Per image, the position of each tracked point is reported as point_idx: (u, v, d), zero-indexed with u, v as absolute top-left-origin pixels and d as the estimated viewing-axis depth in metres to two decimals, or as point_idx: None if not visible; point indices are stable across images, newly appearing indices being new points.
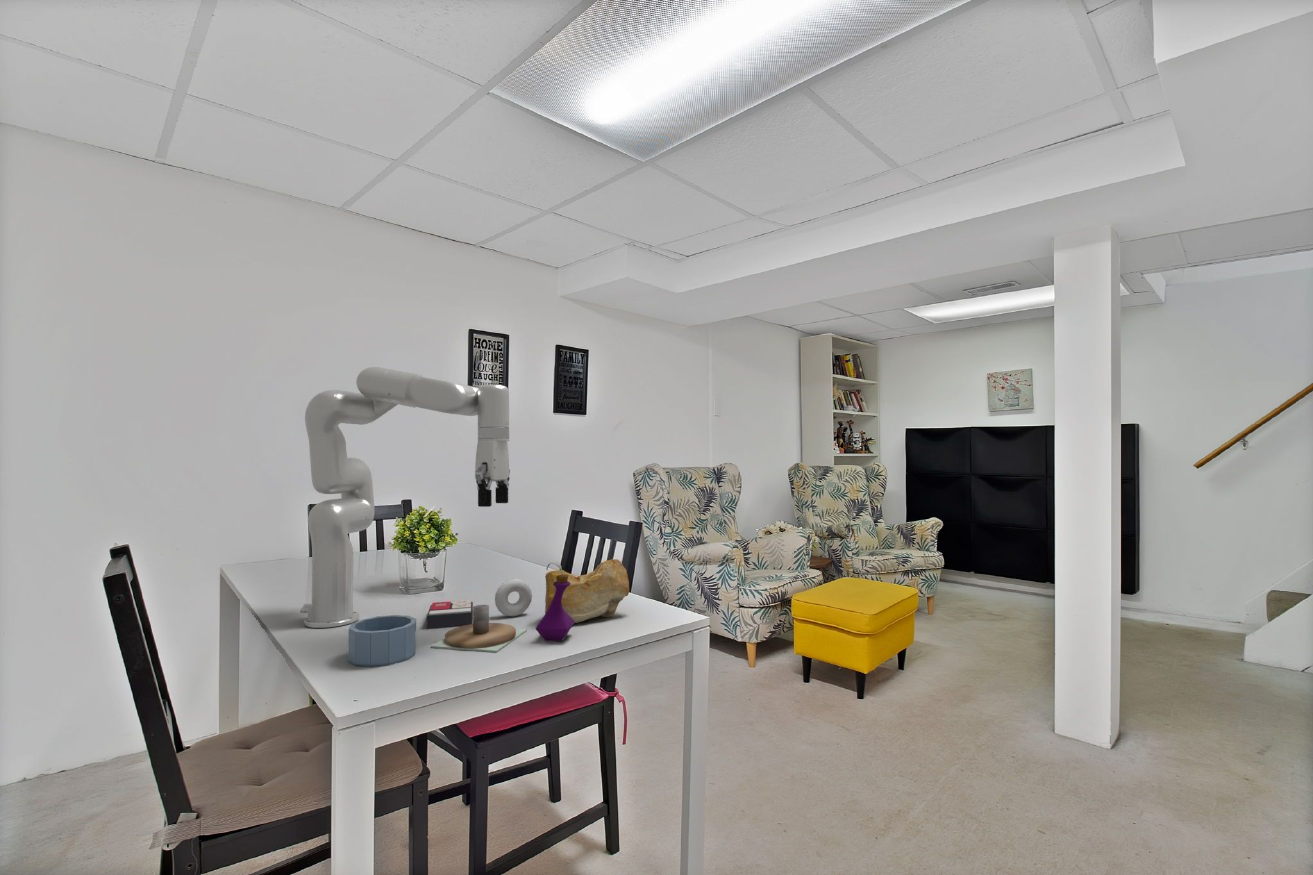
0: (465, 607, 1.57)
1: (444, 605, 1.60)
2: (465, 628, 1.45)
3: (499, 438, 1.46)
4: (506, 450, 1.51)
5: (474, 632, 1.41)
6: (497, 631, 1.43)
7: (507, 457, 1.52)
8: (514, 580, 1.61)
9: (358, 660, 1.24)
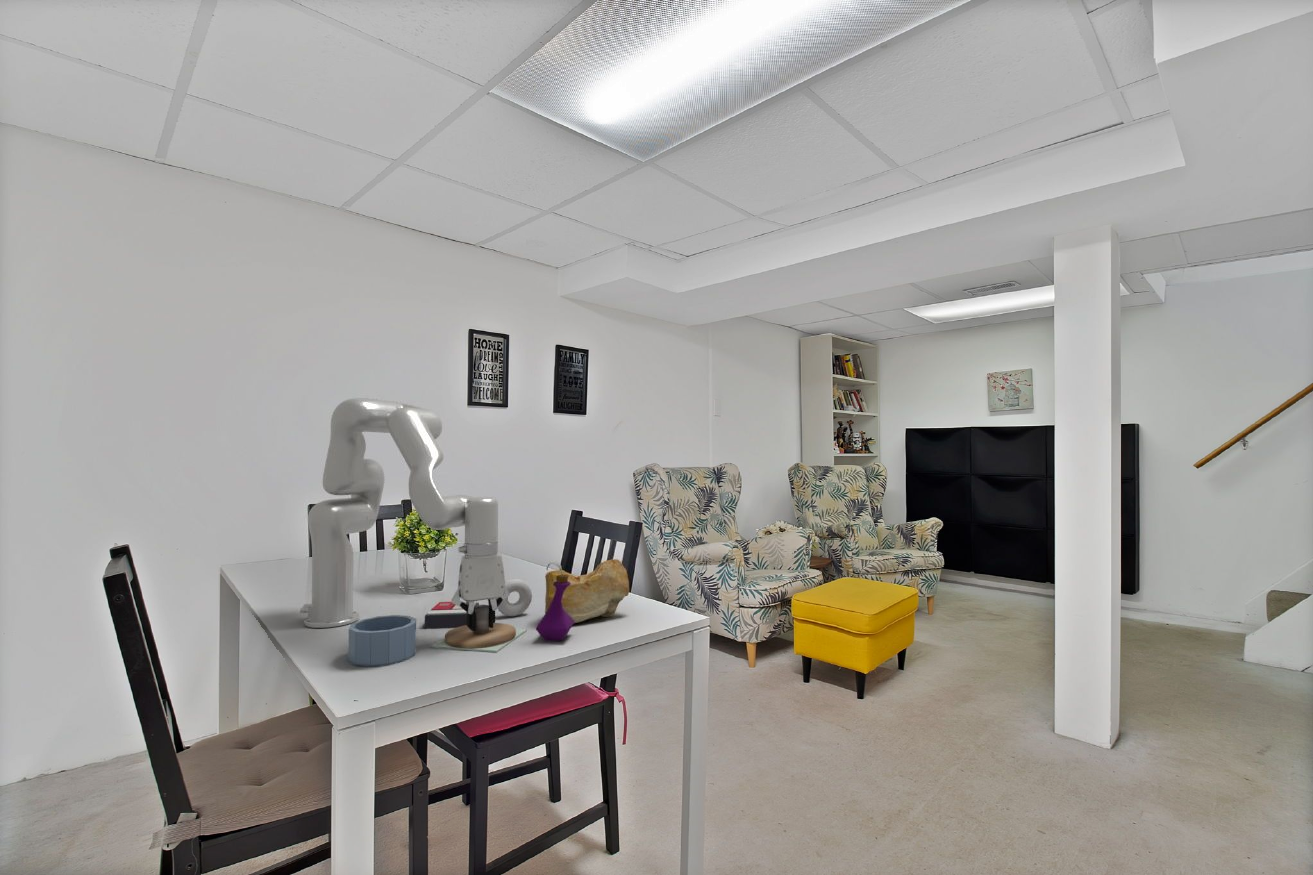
0: None
1: (447, 605, 1.60)
2: (465, 628, 1.45)
3: None
4: None
5: (474, 632, 1.41)
6: (497, 631, 1.43)
7: None
8: (514, 580, 1.61)
9: (358, 660, 1.24)
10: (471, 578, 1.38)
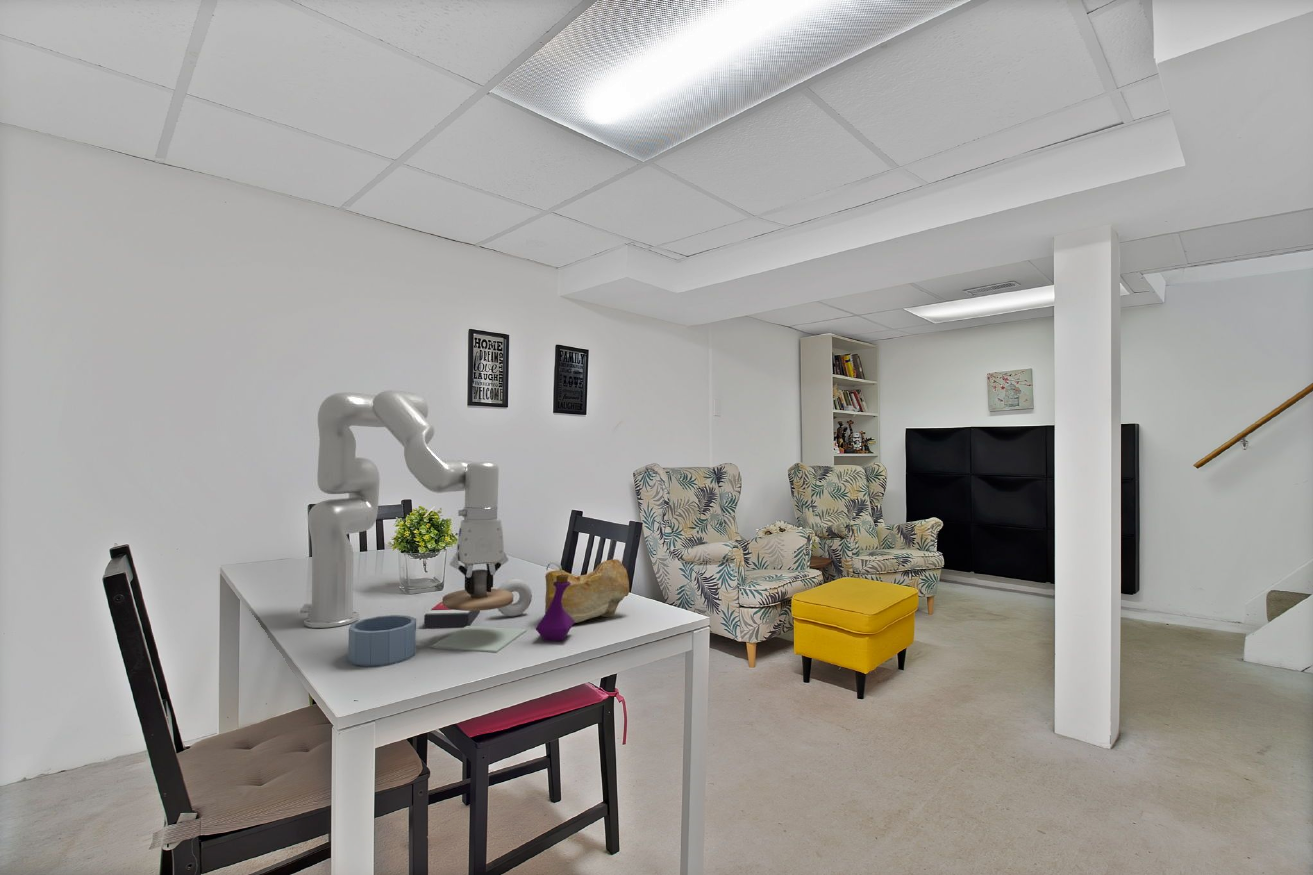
0: None
1: None
2: (463, 592, 1.46)
3: None
4: None
5: (472, 596, 1.41)
6: (495, 595, 1.43)
7: None
8: (514, 580, 1.61)
9: (358, 660, 1.24)
10: (470, 541, 1.39)
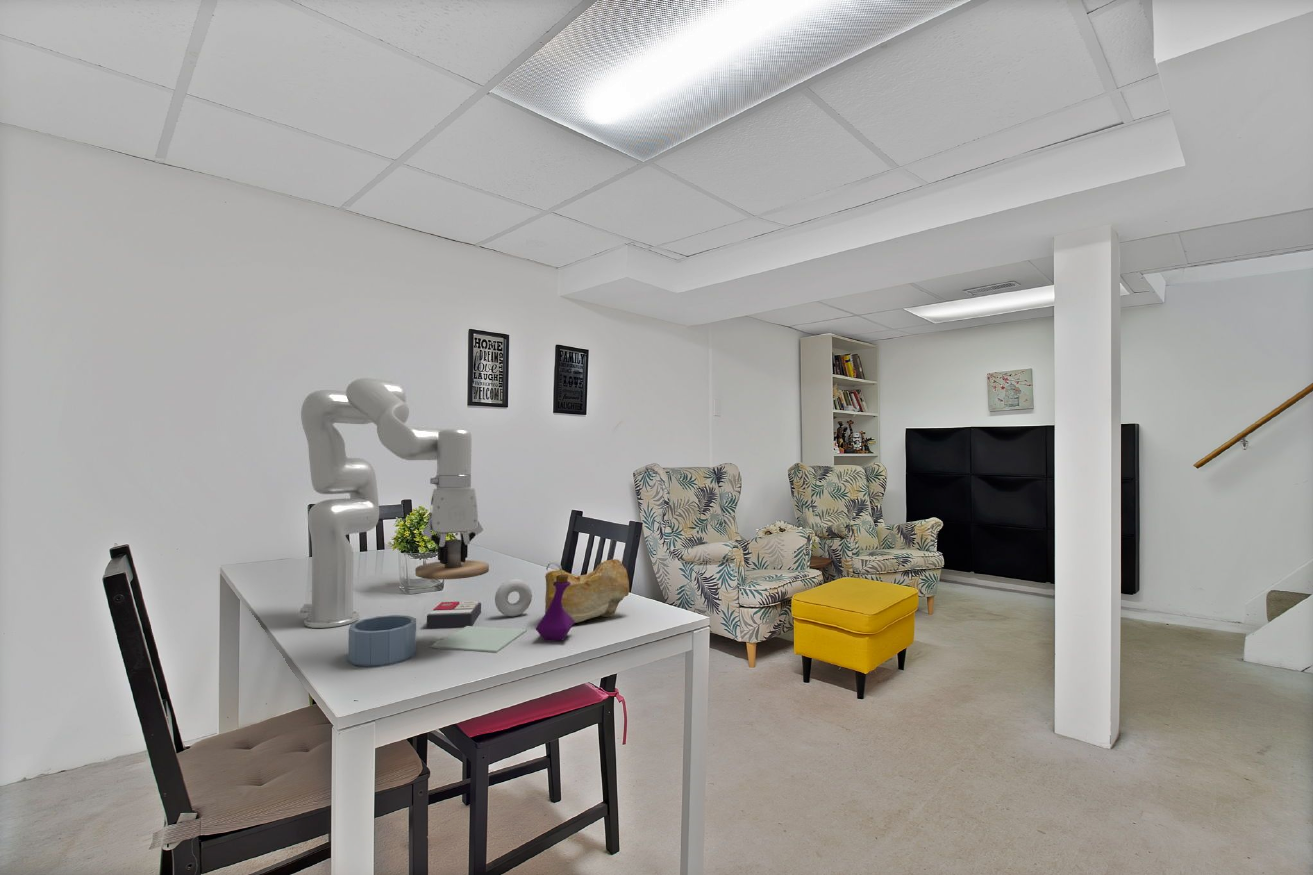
0: (467, 608, 1.56)
1: (449, 605, 1.59)
2: (437, 563, 1.42)
3: None
4: None
5: (446, 566, 1.37)
6: (470, 566, 1.40)
7: None
8: (514, 580, 1.61)
9: (358, 660, 1.24)
10: (443, 510, 1.35)
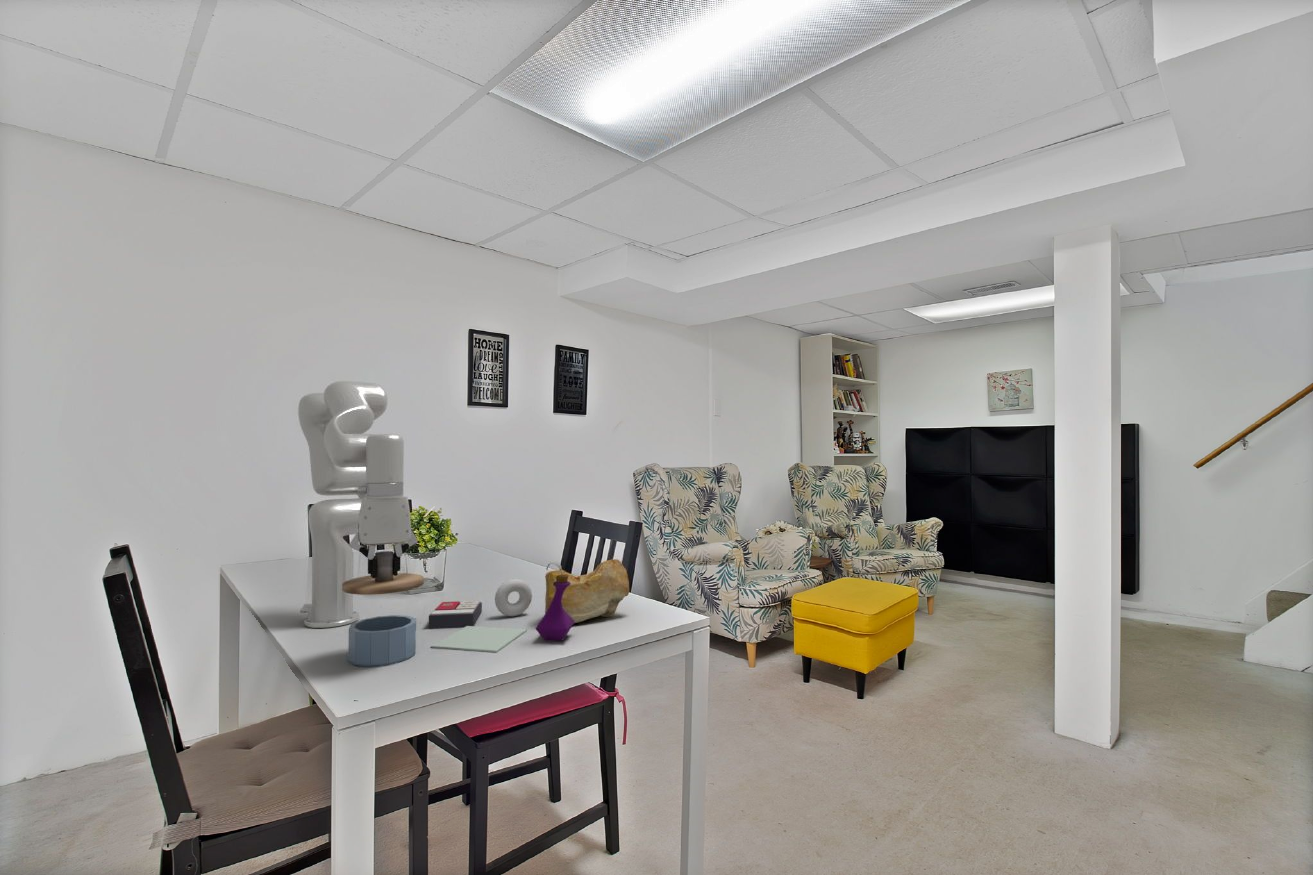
0: (469, 608, 1.56)
1: (450, 605, 1.60)
2: (369, 577, 1.34)
3: None
4: None
5: (376, 580, 1.29)
6: (403, 579, 1.31)
7: None
8: (514, 580, 1.61)
9: (358, 660, 1.24)
10: (370, 520, 1.27)
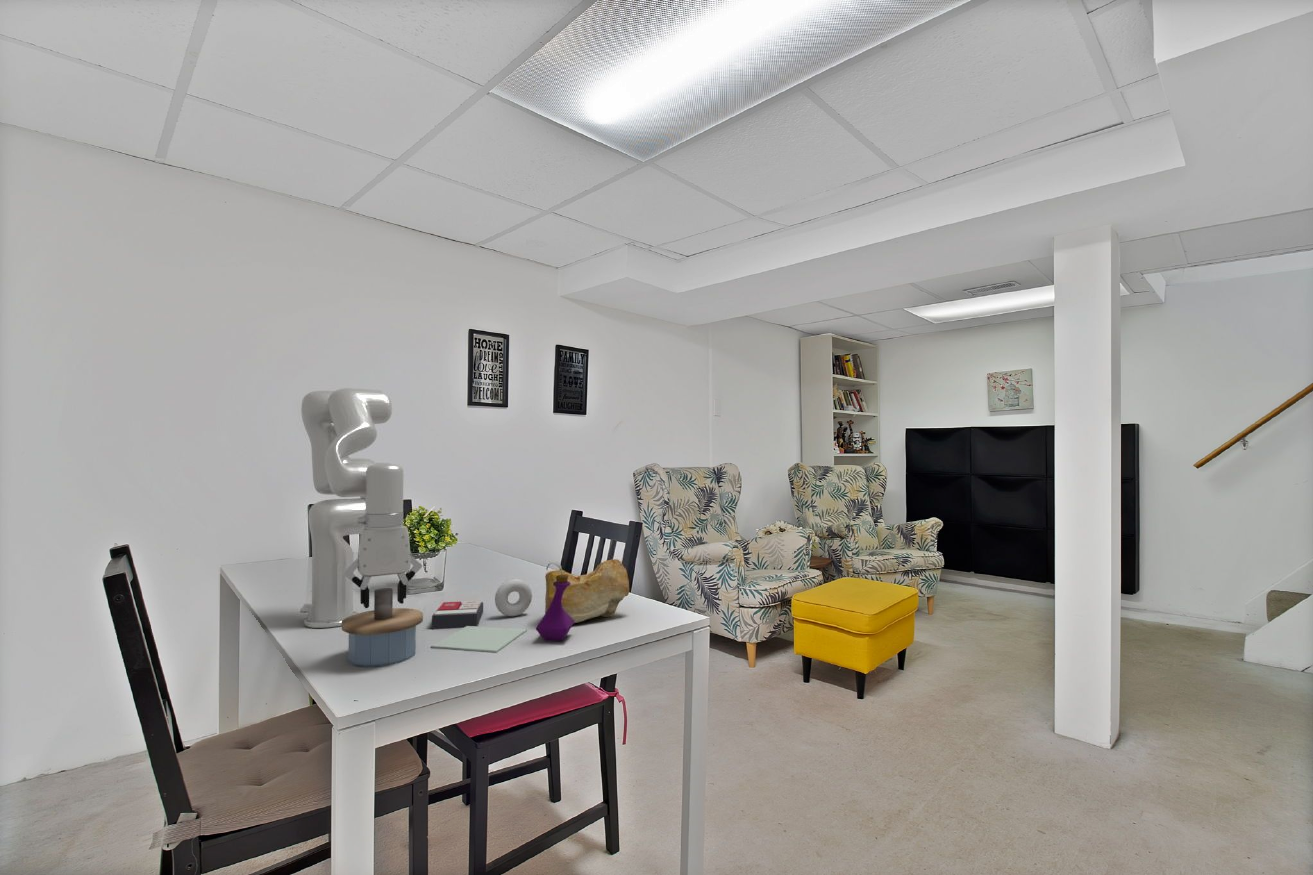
0: (472, 608, 1.56)
1: (453, 605, 1.59)
2: (368, 613, 1.34)
3: None
4: None
5: (375, 617, 1.29)
6: (402, 616, 1.31)
7: None
8: (514, 580, 1.61)
9: (358, 660, 1.24)
10: (370, 551, 1.27)
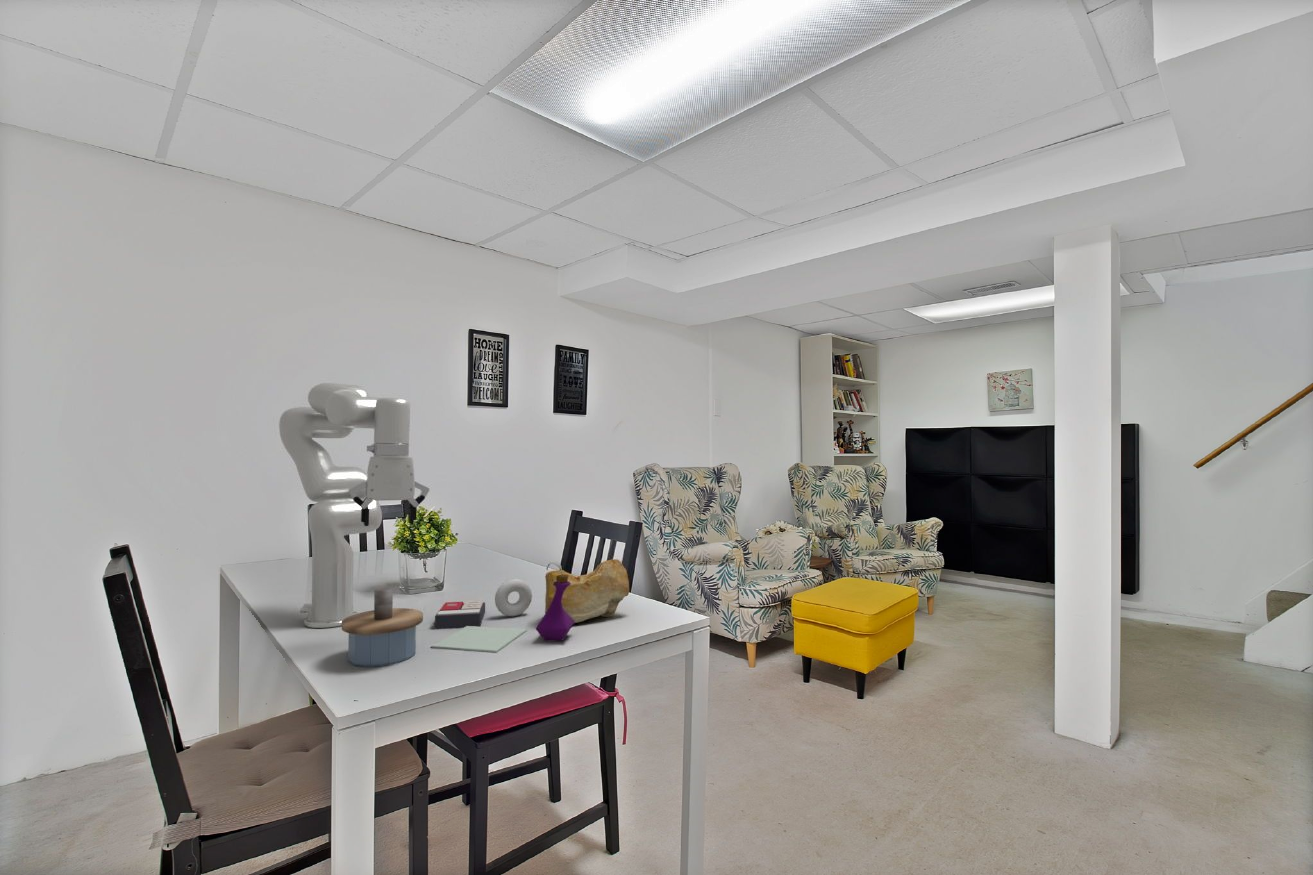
0: (474, 608, 1.56)
1: (455, 605, 1.59)
2: (368, 613, 1.34)
3: None
4: None
5: (375, 617, 1.29)
6: (402, 616, 1.31)
7: None
8: (514, 580, 1.61)
9: (358, 660, 1.24)
10: (377, 477, 1.37)
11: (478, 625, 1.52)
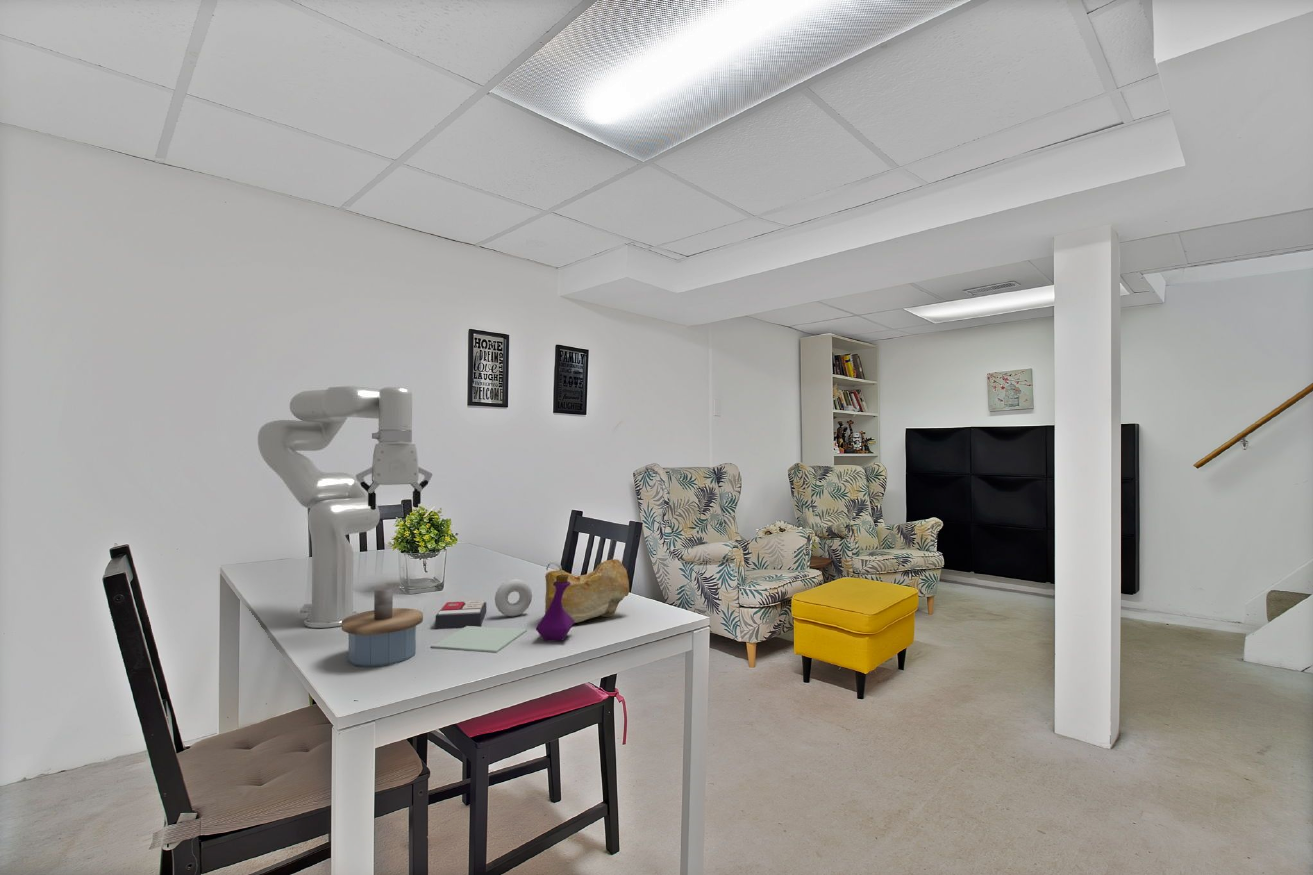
0: (475, 608, 1.56)
1: (456, 605, 1.59)
2: (368, 613, 1.34)
3: None
4: None
5: (375, 617, 1.29)
6: (402, 616, 1.31)
7: None
8: (514, 580, 1.61)
9: (358, 660, 1.24)
10: (383, 462, 1.44)
11: (478, 625, 1.52)
